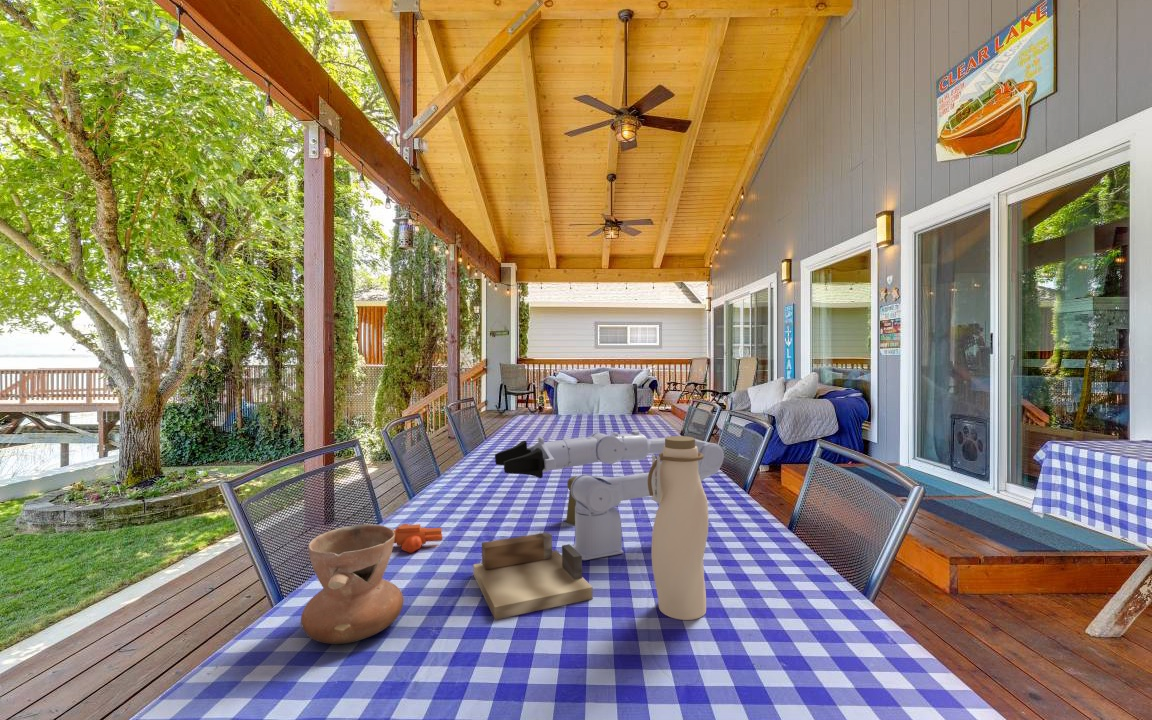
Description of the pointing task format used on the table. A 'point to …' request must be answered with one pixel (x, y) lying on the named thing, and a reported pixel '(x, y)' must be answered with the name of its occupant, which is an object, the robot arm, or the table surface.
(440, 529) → the orange blocky toy
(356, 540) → the ceramic jug
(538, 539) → the folding leg
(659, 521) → the water bottle
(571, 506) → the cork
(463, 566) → the table surface
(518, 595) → the board
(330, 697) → the table surface
